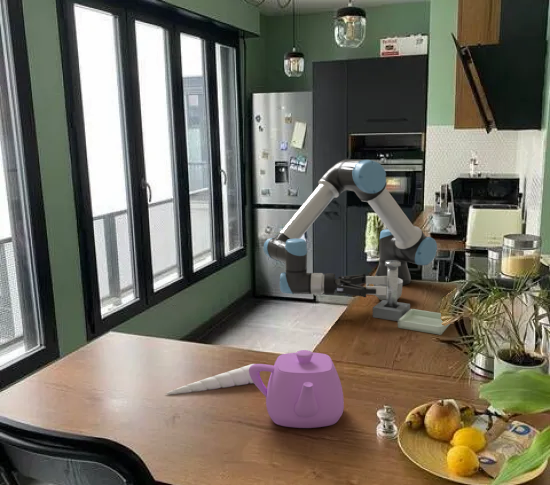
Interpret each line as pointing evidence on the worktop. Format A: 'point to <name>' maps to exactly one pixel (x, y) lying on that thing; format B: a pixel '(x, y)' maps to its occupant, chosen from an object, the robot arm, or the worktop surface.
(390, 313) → the socket block
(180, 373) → the worktop surface
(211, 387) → the unicorn horn
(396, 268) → the pin
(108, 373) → the worktop surface
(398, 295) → the teacup
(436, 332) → the tray
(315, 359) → the teapot
